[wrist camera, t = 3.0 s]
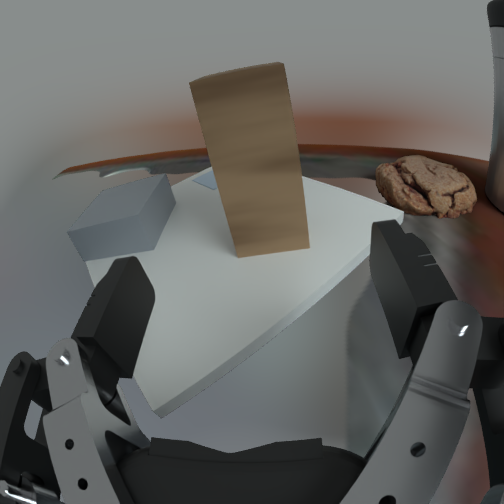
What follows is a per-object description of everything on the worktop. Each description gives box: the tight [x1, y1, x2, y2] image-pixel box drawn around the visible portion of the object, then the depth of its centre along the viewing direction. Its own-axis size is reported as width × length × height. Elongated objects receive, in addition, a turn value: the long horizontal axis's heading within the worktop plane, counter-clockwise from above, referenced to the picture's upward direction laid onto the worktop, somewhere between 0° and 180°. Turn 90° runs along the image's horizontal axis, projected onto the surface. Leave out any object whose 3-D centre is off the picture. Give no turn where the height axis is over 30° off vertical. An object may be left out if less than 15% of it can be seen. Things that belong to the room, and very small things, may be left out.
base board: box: [67, 167, 404, 418], centre depth 24 cm, size 22×24×4 cm
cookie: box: [376, 155, 477, 219], centre depth 24 cm, size 10×11×3 cm
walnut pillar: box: [189, 62, 310, 258], centre depth 19 cm, size 5×5×12 cm
